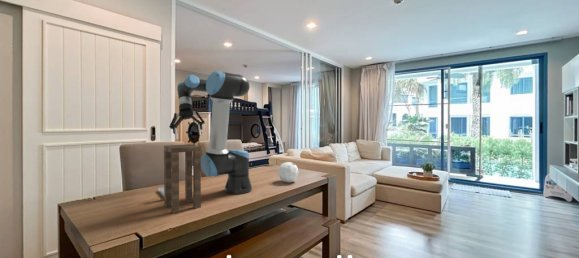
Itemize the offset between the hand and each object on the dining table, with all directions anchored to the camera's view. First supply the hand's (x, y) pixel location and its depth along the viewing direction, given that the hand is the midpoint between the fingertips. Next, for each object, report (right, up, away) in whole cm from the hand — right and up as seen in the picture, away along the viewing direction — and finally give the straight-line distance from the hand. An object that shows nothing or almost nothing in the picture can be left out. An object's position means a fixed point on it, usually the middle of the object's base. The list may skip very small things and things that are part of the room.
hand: (188, 136), depth 150 cm
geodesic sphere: (+60, -30, +14) cm, 68 cm away
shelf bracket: (-6, -31, -17) cm, 35 cm away
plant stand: (+11, -31, -34) cm, 48 cm away
